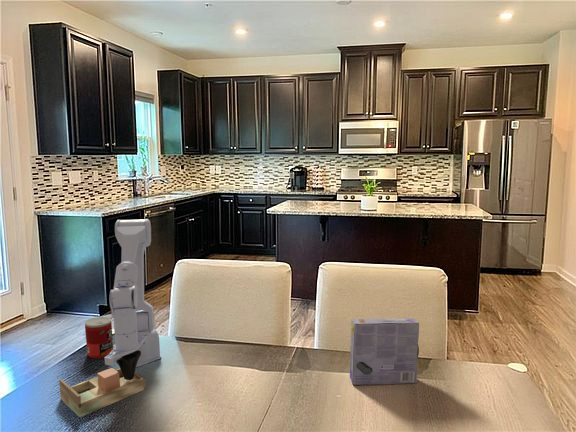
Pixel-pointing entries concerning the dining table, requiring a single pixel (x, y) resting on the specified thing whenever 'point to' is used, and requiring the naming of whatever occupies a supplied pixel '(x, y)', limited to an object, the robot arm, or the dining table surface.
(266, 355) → the dining table surface
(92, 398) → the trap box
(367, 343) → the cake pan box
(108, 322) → the canned food
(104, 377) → the block
